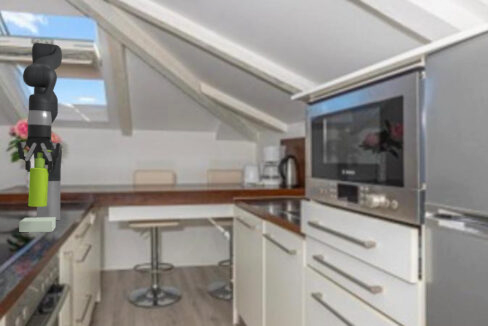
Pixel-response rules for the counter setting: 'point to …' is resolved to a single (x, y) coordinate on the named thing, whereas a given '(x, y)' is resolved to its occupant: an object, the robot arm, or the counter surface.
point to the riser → (37, 224)
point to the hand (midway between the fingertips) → (39, 171)
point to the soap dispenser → (38, 182)
